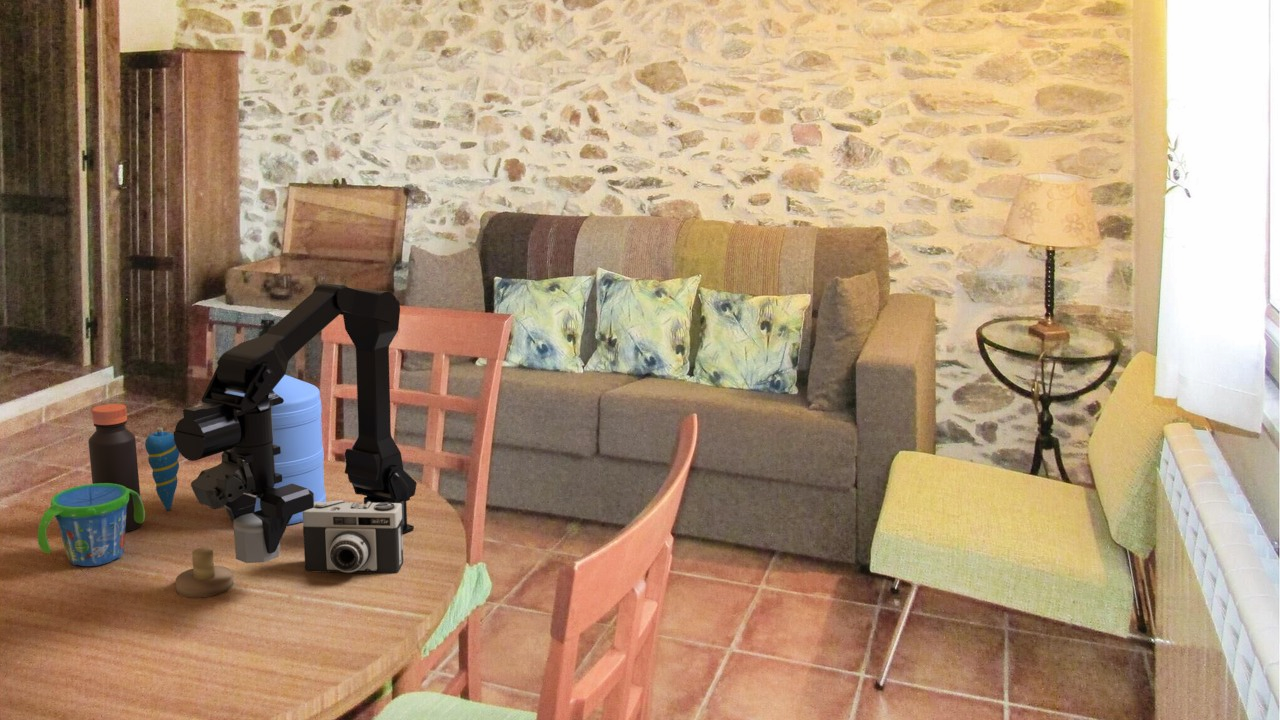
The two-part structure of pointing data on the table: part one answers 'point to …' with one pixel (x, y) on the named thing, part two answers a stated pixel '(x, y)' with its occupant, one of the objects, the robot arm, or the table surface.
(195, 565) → the stub
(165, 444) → the ornament
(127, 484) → the bottle
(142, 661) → the table surface
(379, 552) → the camera
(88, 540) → the snack cup
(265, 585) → the table surface
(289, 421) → the water jug
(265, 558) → the cap
